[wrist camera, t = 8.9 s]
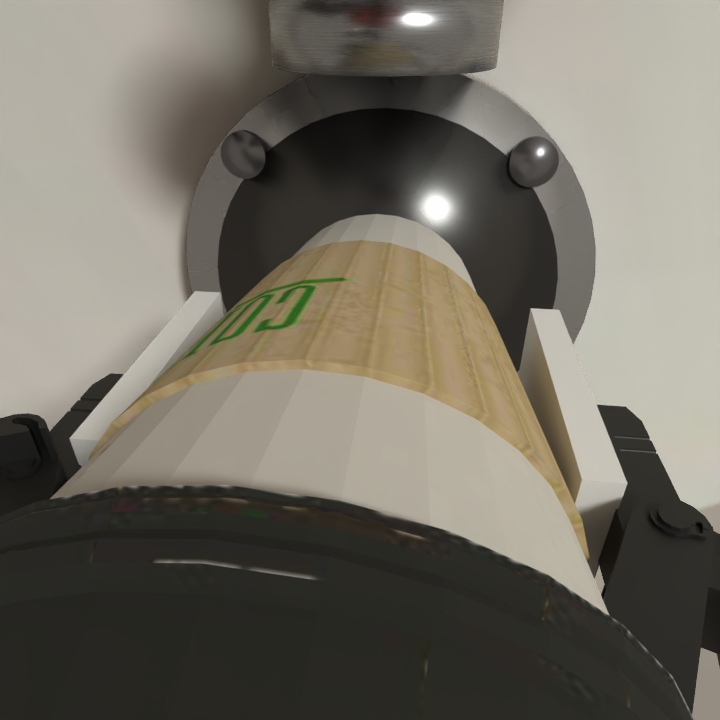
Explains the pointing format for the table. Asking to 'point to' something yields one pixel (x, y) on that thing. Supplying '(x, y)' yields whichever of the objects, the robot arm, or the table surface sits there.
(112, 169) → the table surface
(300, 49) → the metal device with knob
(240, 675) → the coffee cup
